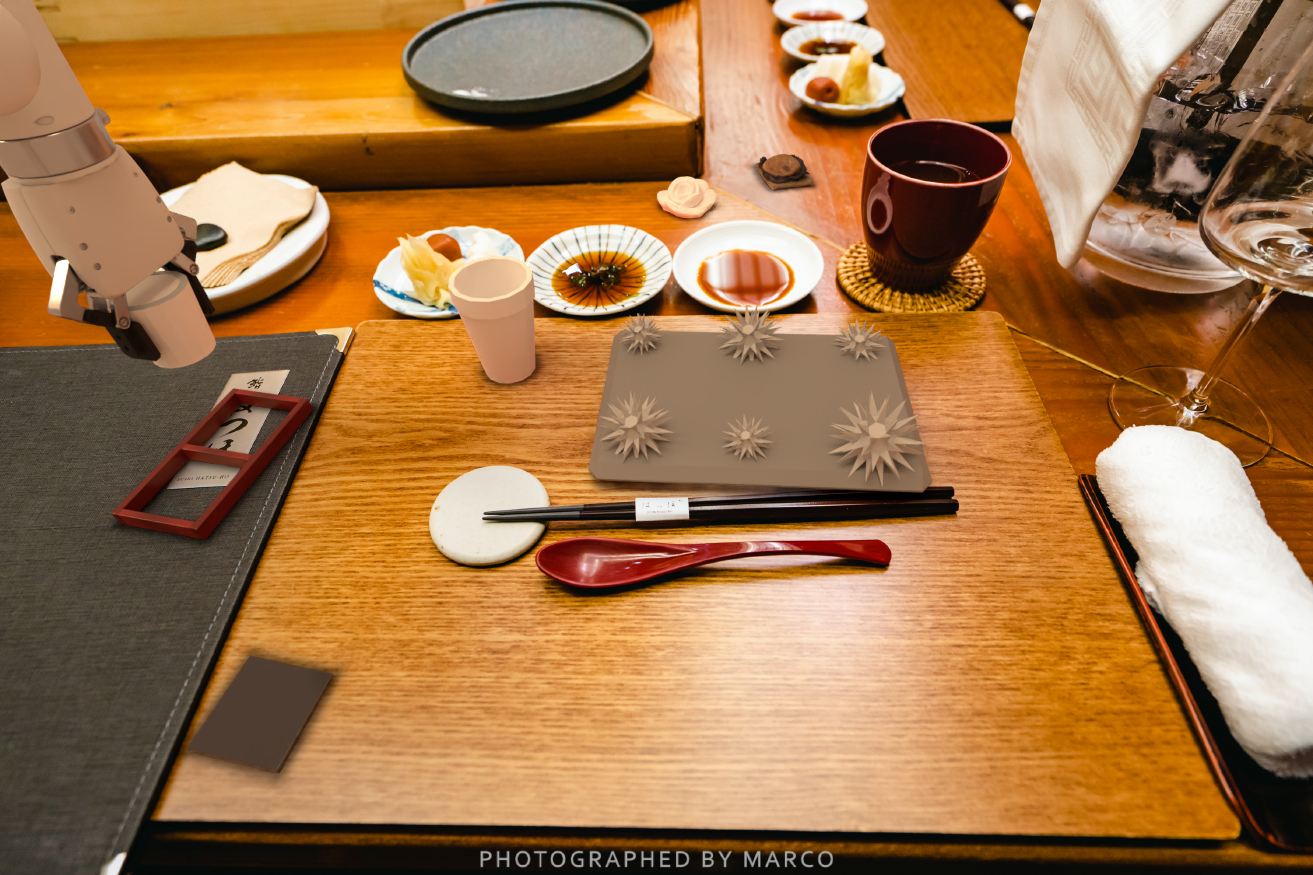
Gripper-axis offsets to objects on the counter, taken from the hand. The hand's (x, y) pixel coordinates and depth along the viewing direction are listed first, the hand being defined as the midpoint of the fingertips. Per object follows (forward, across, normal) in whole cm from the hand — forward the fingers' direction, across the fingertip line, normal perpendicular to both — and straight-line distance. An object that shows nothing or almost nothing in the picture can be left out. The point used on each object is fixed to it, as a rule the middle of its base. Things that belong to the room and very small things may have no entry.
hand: (173, 332), depth 65 cm
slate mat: (+17, +26, +20) cm, 37 cm away
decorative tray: (+16, -16, +55) cm, 60 cm away
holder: (+16, +2, -1) cm, 16 cm away
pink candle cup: (+2, 0, 0) cm, 2 cm away
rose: (+15, -65, +38) cm, 77 cm away
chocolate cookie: (+15, -79, +53) cm, 97 cm away
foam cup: (+16, -19, +24) cm, 35 cm away
